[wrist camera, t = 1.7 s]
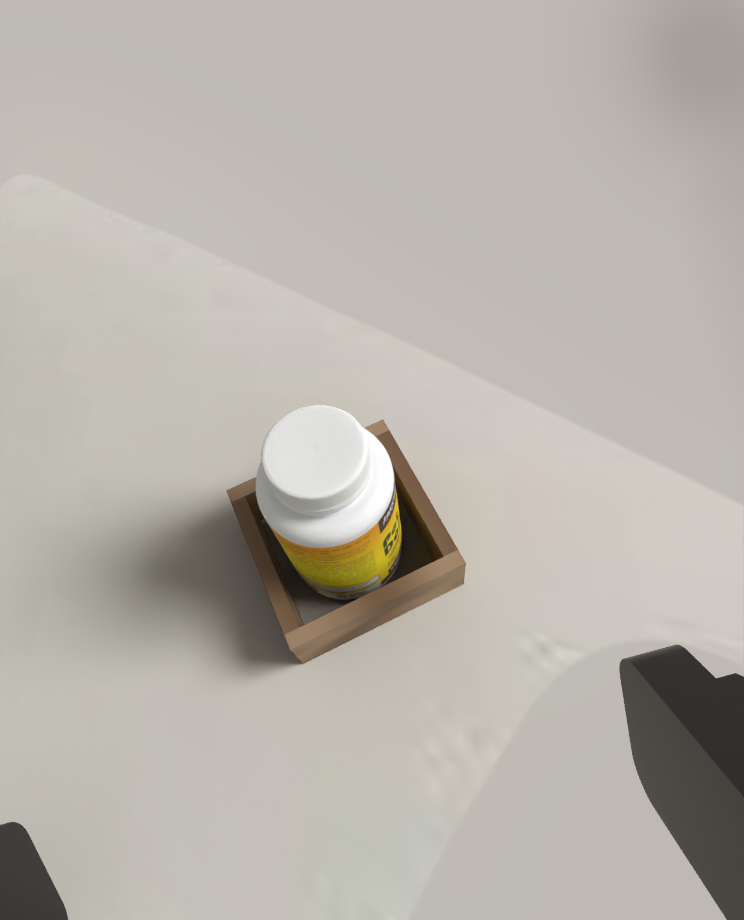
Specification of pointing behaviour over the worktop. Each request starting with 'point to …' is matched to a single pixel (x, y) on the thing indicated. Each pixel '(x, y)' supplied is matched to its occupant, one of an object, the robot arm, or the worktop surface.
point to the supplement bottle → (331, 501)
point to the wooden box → (374, 605)
